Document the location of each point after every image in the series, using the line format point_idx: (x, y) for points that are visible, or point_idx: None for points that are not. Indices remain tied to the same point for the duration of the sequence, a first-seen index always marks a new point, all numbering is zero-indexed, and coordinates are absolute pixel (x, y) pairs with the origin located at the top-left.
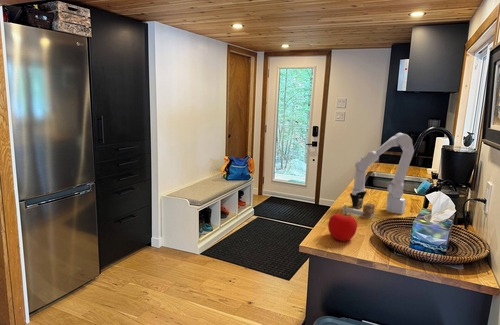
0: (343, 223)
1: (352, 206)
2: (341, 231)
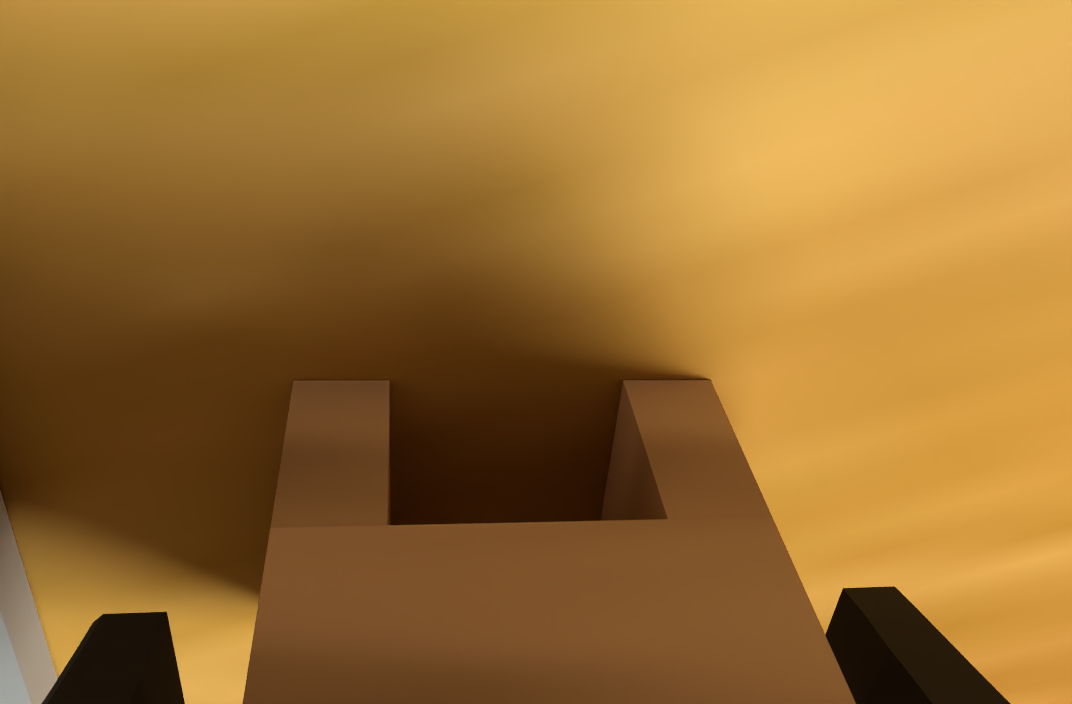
0: None
1: (278, 497)
2: None
